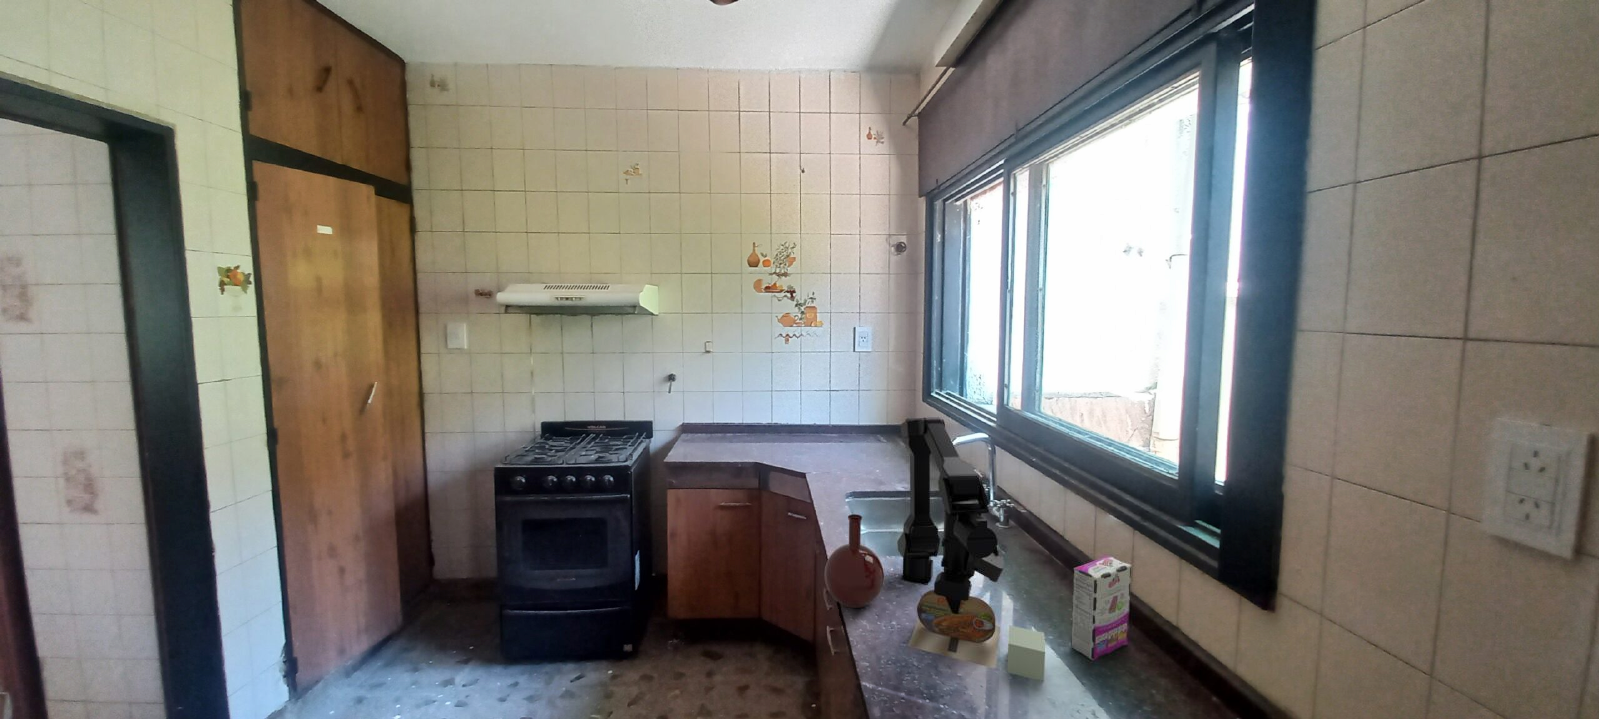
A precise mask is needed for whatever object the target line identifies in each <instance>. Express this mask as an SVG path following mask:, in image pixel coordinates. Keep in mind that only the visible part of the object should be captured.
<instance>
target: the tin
mask: <svg viewBox="0 0 1599 719" xmlns="http://www.w3.org/2000/svg"><path fill="white" fill-rule="evenodd" d="M916 613H917V614H916V615H917V618H918V619H919V620H920V622H921V623H922V624H923V625H924V626H925V627H926V628H927V629H928V630H930V631H932V632H934V633H937V634H941V635H945V636H950V637H954V638H958V639H962V640H967V641H971V642H976V643H980V642H985V641H987V640H989V639H990V638H991V637H992V636H993V634H994V632H995V626H996V616H995V612H994V610H993V608H992V607H991V606H990V605H989V604H988V603H987V602H986V601H984V600H983V599H981V598H980V597H976V596H971V595H970V596H969V600H967V601H963V600H961V604H960V608H959V612H958V614H953V613H952V611H951V609H950V607H949V605H948V602H947V600H946V598H945V597H944V596H940V595H936V594H935V593H934V589H930V590H928V591H926V592H925V593H924V594H922V596H921V597H920V600H919V602H918V604H917V606H916Z"/></svg>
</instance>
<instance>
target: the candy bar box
mask: <svg viewBox="0 0 1599 719" xmlns="http://www.w3.org/2000/svg"><path fill="white" fill-rule="evenodd" d="M1131 575H1132V564H1129V563H1127V562H1124V561H1122V560H1121V559H1118V558H1116V557H1114V556H1110V555H1107V556H1105V557H1102V558H1099V559H1096V560H1093V561H1091V562H1088V563H1084V564H1083V565H1079V566H1076V567H1074V568H1073V580H1072V581H1073V583H1072V584H1073V585H1072V586H1073V587H1072V588H1073V589H1072V611H1071V612H1072V613H1071V614H1072V615H1071V619H1072V620H1071V638H1070V639H1071V640H1070V641H1071V642H1070V647H1071V649H1072V650H1075V652H1078V653H1080V654H1081V655H1083V656H1084V657H1086V658H1088V659H1089V660H1091V661H1096V660H1098V659H1100V658H1102V657H1104V656H1106V655H1108V654H1111V653H1112V652H1114V651H1116V650H1117V649H1120V648H1122V647H1124V646H1126V645H1129V625H1130V624H1129V622H1130V621H1129V620H1130V600H1131V581H1132V580H1131V579H1132V576H1131Z"/></svg>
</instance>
